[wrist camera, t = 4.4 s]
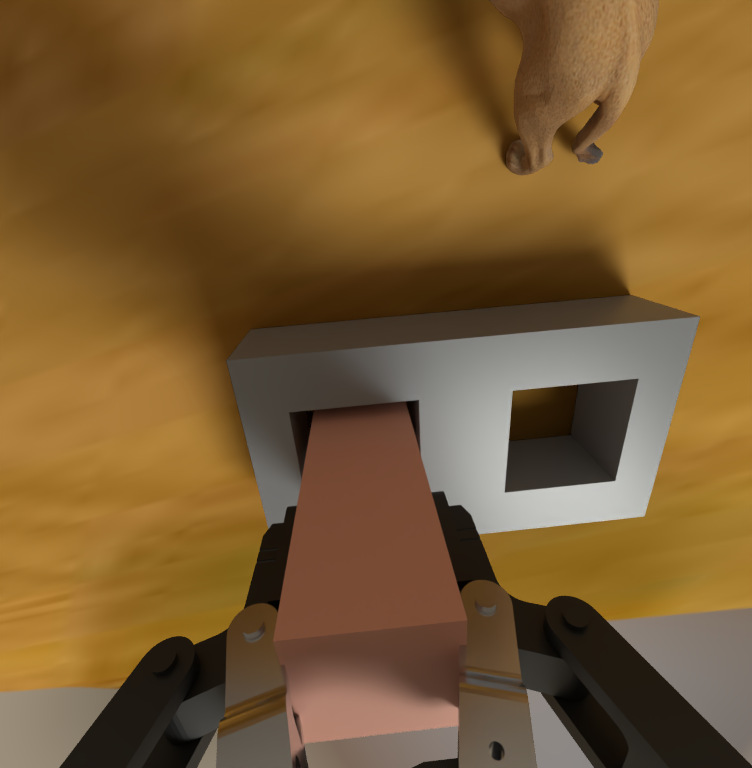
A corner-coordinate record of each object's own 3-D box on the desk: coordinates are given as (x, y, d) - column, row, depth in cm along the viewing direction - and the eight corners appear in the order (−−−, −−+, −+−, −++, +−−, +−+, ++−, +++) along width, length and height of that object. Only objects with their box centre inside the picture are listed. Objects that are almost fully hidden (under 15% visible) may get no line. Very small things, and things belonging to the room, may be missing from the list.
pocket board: (631, 294, 19) (700, 316, 15) (597, 466, 23) (644, 516, 19) (250, 329, 18) (226, 360, 14) (287, 498, 22) (275, 556, 19)
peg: (405, 400, 17) (467, 620, 8) (409, 473, 19) (464, 725, 10) (314, 408, 17) (272, 641, 8) (325, 482, 19) (303, 744, 10)
